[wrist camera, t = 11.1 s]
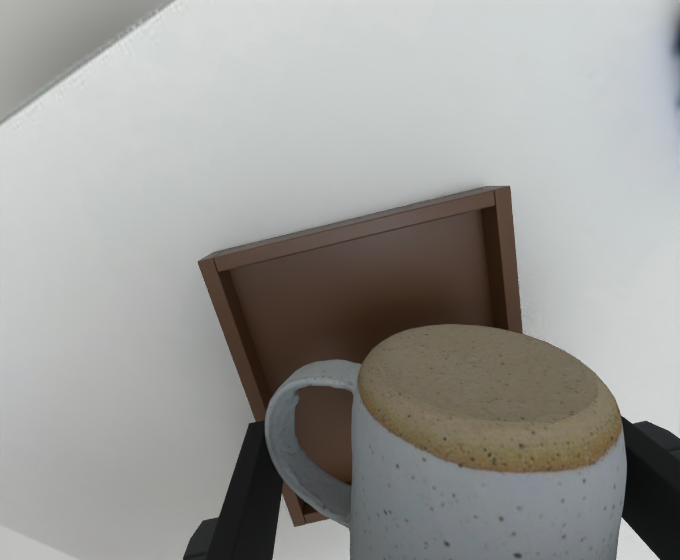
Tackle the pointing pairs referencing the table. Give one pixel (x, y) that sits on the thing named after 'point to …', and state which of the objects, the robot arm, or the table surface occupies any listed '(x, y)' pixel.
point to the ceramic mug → (465, 449)
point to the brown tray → (359, 303)
